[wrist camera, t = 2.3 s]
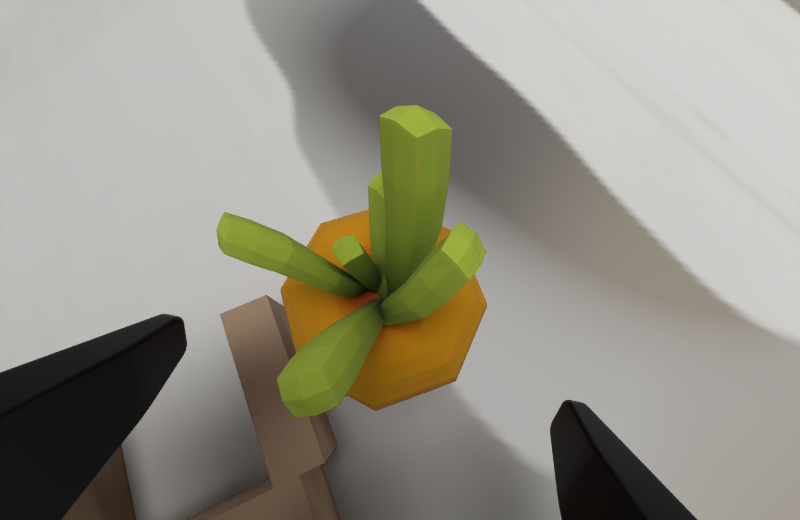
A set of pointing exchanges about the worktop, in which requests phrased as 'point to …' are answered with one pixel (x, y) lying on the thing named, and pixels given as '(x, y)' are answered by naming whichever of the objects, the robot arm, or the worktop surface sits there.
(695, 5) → the worktop surface
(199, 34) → the worktop surface
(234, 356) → the notched block
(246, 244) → the carrot
